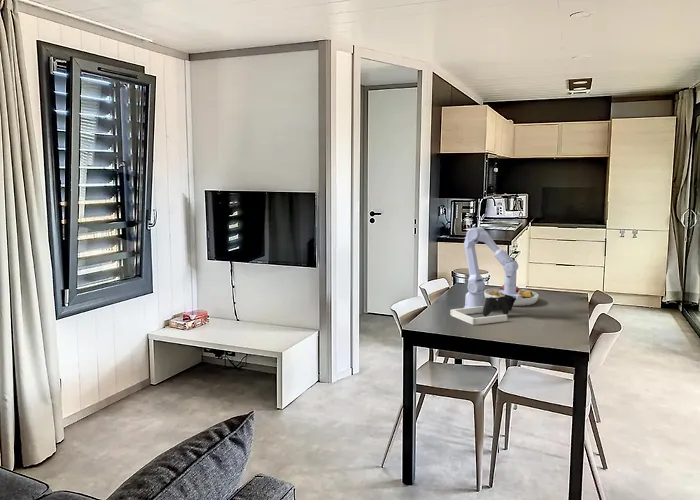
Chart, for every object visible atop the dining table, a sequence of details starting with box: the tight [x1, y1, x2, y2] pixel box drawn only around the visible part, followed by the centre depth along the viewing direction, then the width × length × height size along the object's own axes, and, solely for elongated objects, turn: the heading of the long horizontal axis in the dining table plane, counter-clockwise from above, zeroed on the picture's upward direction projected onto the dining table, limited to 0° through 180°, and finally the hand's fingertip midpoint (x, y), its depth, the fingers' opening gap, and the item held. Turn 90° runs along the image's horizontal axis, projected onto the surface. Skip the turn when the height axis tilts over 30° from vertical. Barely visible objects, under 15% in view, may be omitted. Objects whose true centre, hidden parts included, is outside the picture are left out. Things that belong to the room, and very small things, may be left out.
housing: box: [449, 305, 508, 326], centre depth 279 cm, size 20×20×3 cm
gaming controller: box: [482, 297, 510, 317], centre depth 283 cm, size 14×6×10 cm, turn 104°
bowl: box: [483, 284, 539, 307], centre depth 318 cm, size 30×30×8 cm
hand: (509, 310), depth 287 cm, fingers closed
